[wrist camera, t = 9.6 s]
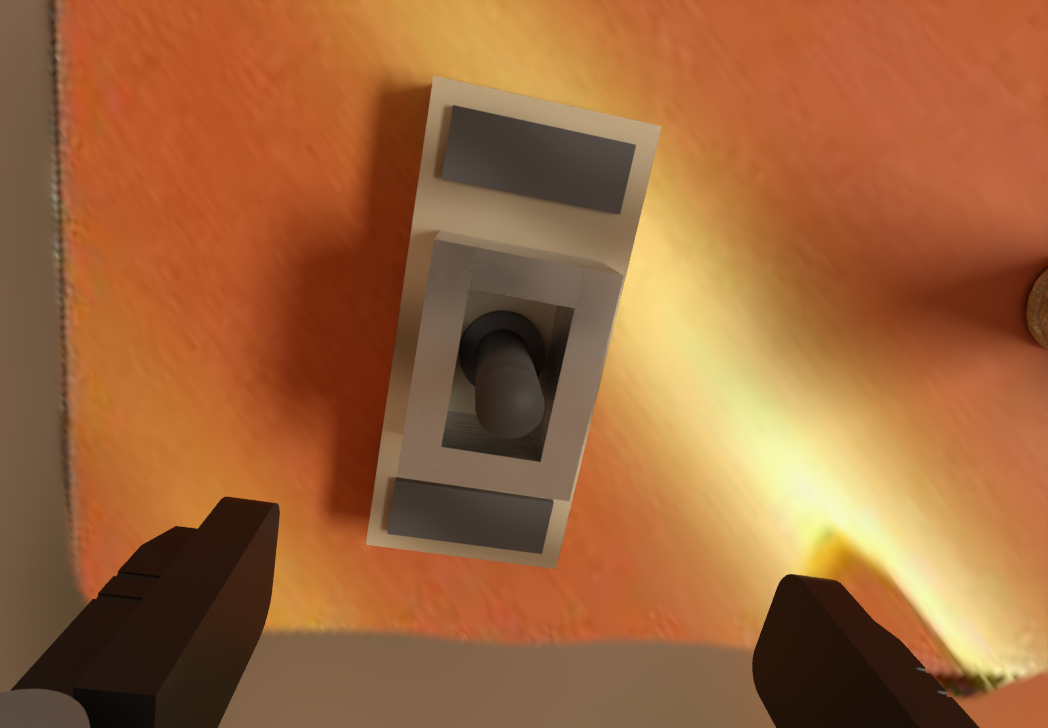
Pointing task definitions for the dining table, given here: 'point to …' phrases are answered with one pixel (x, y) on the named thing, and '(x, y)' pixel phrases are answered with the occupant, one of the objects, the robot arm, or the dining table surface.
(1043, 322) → the spice jar
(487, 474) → the link
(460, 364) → the beige holder base
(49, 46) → the dining table surface
